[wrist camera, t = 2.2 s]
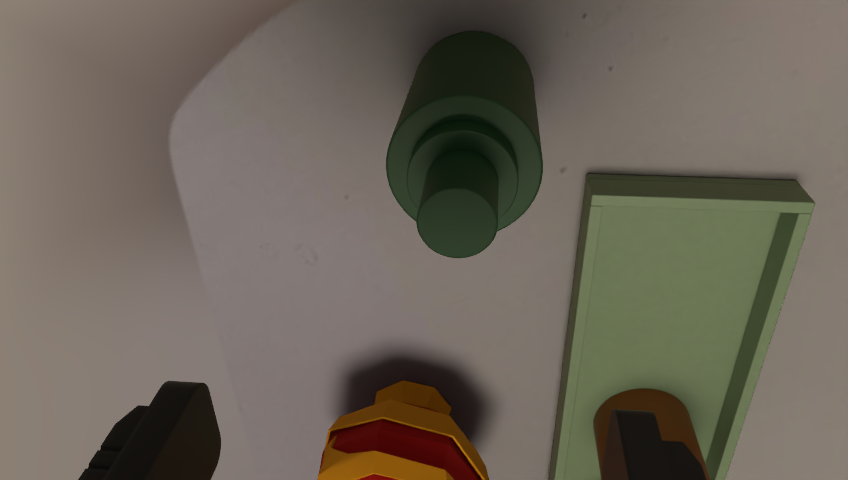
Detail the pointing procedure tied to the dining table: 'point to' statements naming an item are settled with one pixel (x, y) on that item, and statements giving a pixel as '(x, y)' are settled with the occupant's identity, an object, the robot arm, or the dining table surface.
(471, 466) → the potion bottle
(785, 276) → the tray
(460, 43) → the green bottle
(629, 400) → the amber bottle mid
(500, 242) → the dining table surface
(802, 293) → the dining table surface
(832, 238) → the dining table surface
